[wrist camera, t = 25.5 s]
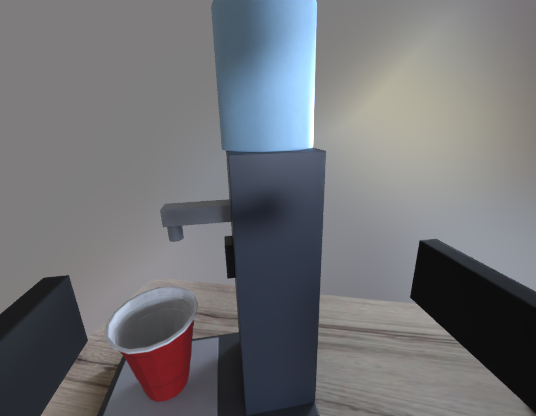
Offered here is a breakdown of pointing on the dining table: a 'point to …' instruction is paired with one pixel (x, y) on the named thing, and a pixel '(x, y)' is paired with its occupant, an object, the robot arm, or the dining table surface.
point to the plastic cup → (156, 338)
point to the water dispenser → (257, 224)
